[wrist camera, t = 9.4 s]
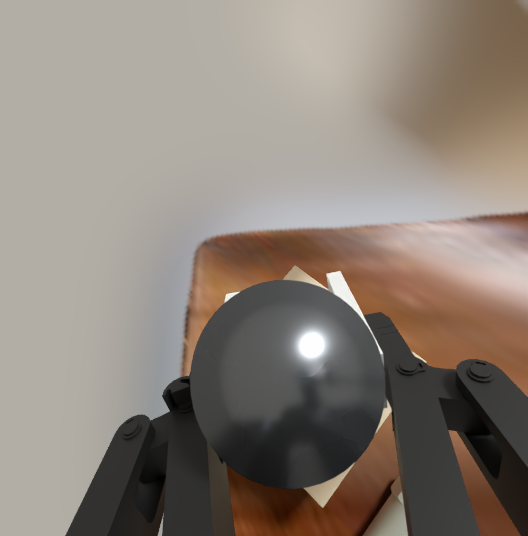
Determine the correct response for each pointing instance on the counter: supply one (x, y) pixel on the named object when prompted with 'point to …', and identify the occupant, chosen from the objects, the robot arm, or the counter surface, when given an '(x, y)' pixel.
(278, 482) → the capped cylinder
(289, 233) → the counter surface
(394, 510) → the pipe fitting
